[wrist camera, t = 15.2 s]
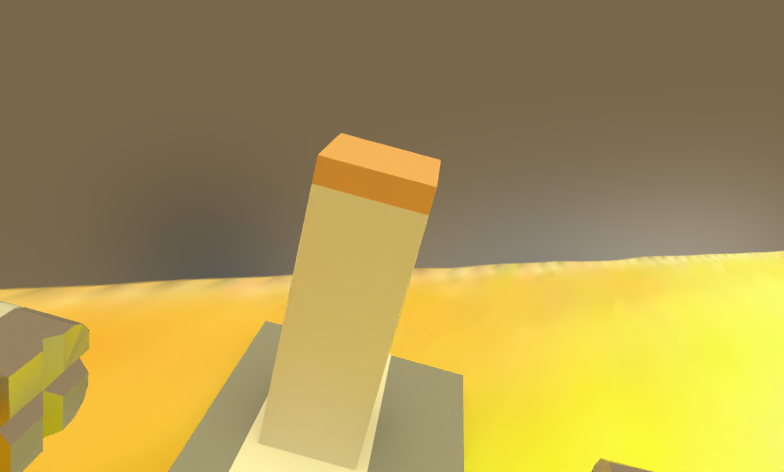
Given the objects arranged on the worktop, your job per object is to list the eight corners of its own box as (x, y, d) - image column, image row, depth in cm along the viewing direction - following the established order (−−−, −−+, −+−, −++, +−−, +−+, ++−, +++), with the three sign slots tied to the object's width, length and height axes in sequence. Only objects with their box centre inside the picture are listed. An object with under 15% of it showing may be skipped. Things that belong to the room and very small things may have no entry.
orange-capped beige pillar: (369, 409, 27) (440, 160, 23) (355, 470, 24) (437, 187, 19) (285, 385, 27) (340, 133, 23) (258, 443, 24) (318, 155, 19)
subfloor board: (457, 390, 32) (463, 373, 32) (456, 673, 18) (466, 650, 18) (262, 336, 32) (265, 319, 32) (112, 576, 18) (115, 551, 18)
